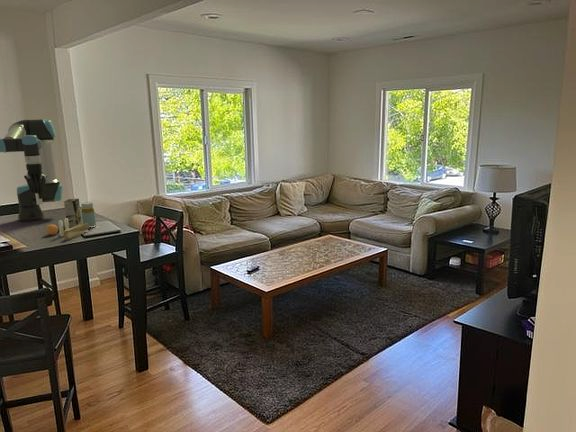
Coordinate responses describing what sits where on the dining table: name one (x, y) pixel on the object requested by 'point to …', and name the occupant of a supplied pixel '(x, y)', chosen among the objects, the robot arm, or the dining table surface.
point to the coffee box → (73, 212)
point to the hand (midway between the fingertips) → (39, 204)
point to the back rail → (75, 231)
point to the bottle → (88, 213)
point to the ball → (51, 229)
